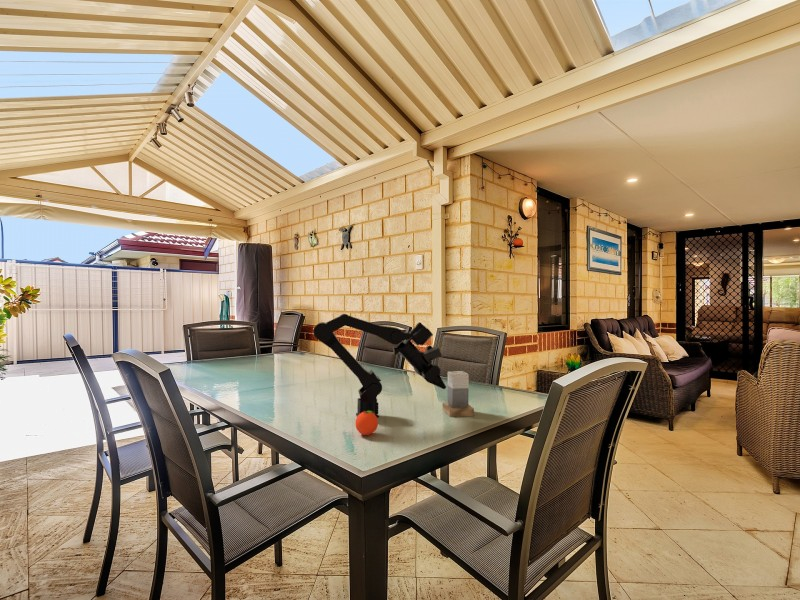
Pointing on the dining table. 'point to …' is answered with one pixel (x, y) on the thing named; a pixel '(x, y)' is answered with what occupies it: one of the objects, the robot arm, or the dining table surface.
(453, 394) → the block
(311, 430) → the dining table surface
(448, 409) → the stand
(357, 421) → the clementine
